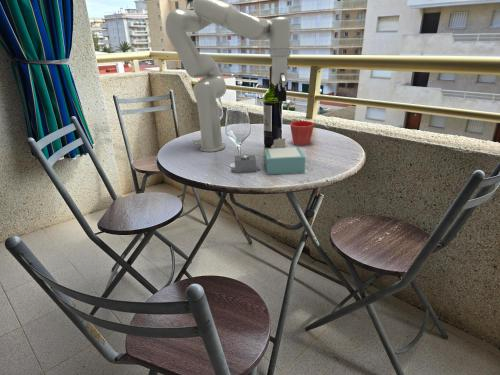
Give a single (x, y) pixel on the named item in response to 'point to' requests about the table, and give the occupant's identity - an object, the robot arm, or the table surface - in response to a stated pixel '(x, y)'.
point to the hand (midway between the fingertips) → (279, 99)
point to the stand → (284, 160)
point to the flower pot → (301, 132)
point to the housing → (245, 164)
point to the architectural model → (279, 143)
